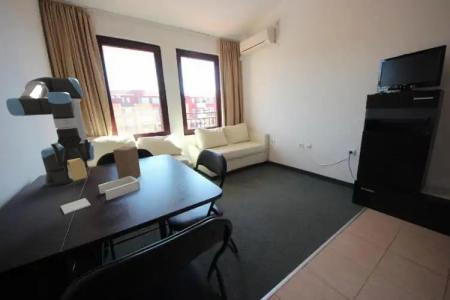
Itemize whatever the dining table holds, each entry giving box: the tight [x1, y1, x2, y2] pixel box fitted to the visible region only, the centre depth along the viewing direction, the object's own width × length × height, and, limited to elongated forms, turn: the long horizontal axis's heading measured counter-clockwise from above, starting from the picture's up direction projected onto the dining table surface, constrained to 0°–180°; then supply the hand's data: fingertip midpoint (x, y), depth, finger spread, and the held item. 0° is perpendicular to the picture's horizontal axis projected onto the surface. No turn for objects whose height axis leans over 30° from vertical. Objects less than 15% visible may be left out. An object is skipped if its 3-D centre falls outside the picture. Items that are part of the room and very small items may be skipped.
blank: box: [67, 158, 87, 182], centre depth 90 cm, size 5×5×9 cm
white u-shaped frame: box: [97, 176, 141, 201], centre depth 106 cm, size 12×17×5 cm
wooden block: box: [112, 145, 142, 180], centre depth 124 cm, size 10×10×20 cm
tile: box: [60, 197, 92, 215], centre depth 91 cm, size 10×10×1 cm
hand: (78, 175), depth 91 cm, fingers closed on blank, 5 cm apart
